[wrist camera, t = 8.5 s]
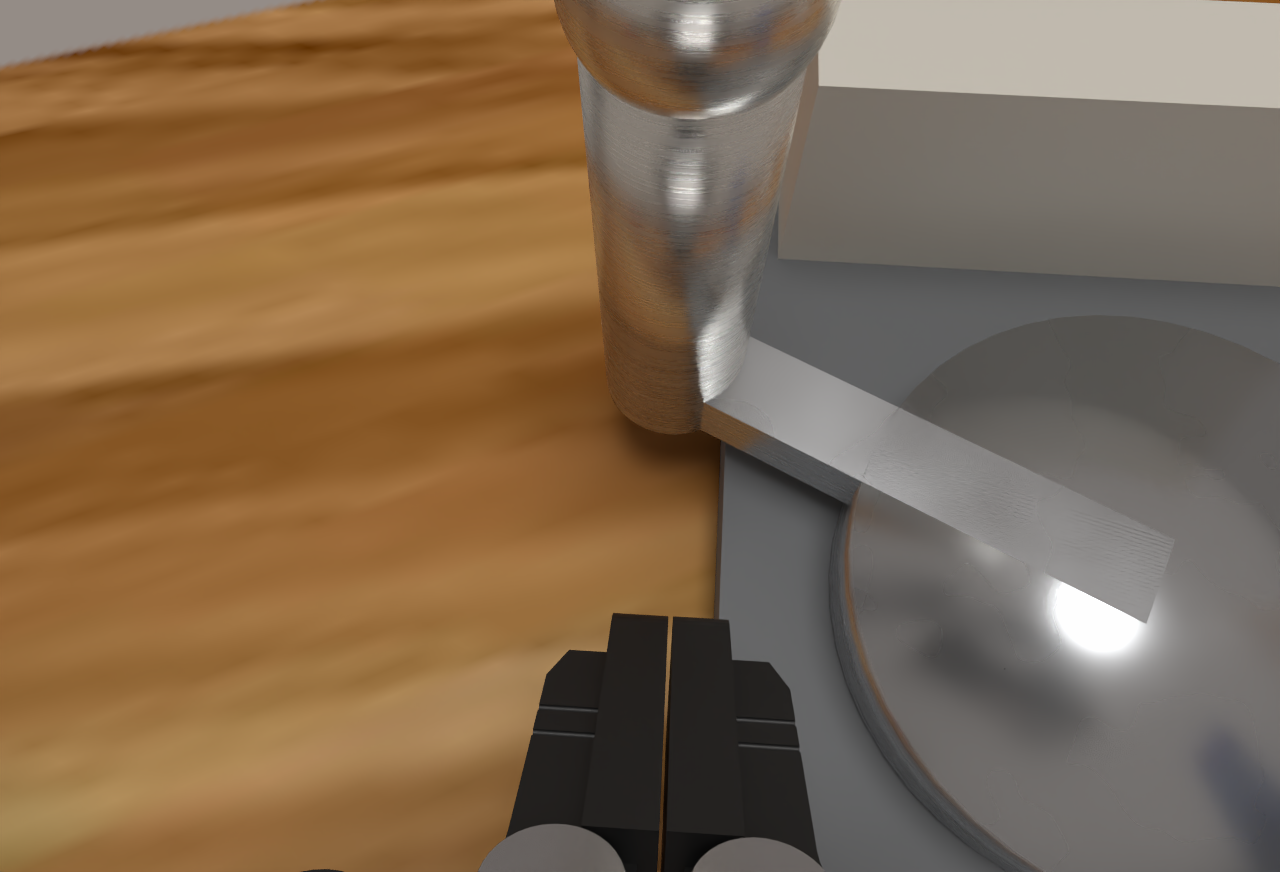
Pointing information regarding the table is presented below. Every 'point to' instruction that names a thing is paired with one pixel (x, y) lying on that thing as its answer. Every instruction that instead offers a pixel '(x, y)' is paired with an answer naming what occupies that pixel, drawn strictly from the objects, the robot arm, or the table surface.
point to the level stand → (983, 278)
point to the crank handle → (962, 483)
